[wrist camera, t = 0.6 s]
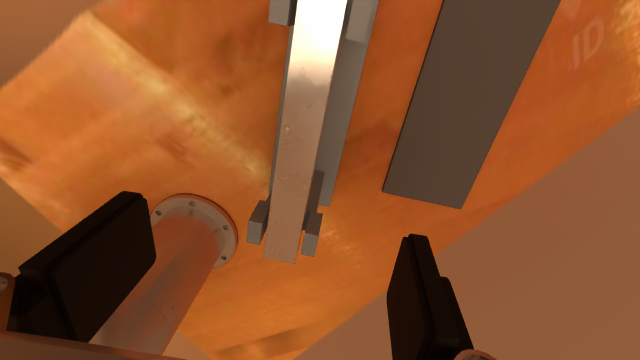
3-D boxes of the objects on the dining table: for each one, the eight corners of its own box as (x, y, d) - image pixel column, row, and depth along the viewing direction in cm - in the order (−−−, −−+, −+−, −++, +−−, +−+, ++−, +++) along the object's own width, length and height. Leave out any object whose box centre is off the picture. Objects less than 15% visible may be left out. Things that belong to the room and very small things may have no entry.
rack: (329, 202, 41) (318, 277, 29) (270, 189, 41) (235, 259, 29) (382, -18, 30) (400, -44, 18) (300, -36, 30) (261, -73, 18)
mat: (459, 206, 40) (461, 209, 39) (381, 189, 40) (382, 192, 39) (569, -26, 28) (573, -27, 27) (459, -49, 28) (461, -51, 28)
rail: (299, 243, 32) (294, 264, 30) (271, 237, 32) (263, 257, 30) (355, -33, 21) (354, -41, 18) (311, -42, 21) (305, -51, 18)
